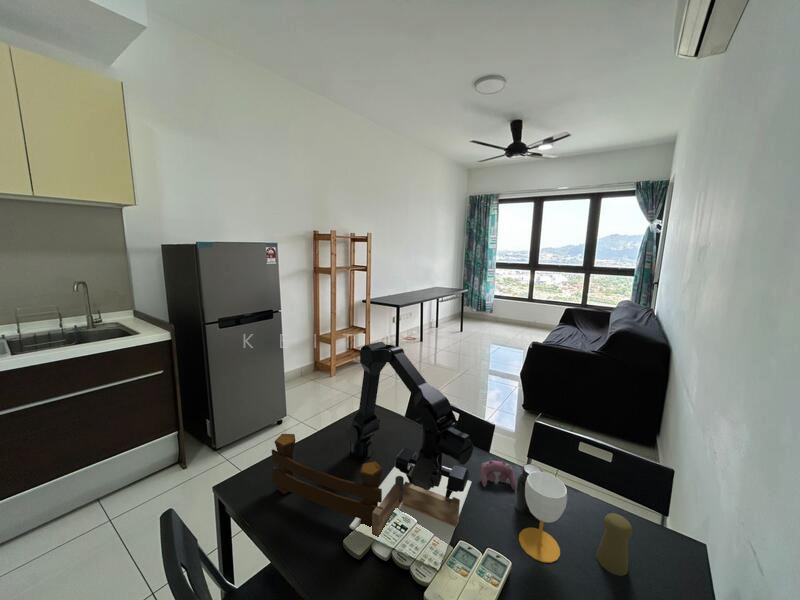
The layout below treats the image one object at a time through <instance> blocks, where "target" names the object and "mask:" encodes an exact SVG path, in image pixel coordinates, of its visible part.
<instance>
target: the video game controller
mask: <svg viewBox="0 0 800 600" xmlns="http://www.w3.org/2000/svg"><path fill="white" fill-rule="evenodd" d="M514 471H515V470H514V469H513V466H511V465H510V464H508V463H506V462H504V461H501V460H488V461H483V462H482V463H481V465H480V479H481V484H482V487H483V488H485V487H486V486H487V484H488V483H487V482H488V480H489V481H490V482H495V481H496V479H497V478H498V480H499V482H501V483H506V482H507V480H508V481H509V484H510V486H511V490H513V491H514V490H516V488H517V487H516V485H517V483H516V476H515V472H514ZM495 473H499V474H498V477H497V476H496V474H495Z"/></svg>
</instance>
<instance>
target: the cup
mask: <svg viewBox="0 0 800 600" xmlns="http://www.w3.org/2000/svg"><path fill="white" fill-rule="evenodd" d="M567 491H568V490H567V487H566V485H565V484H564V482H563V481H562V480H560V479H559V478H558V477H557V476H554V475H553V474H551V473H549V472H544V471H543V472H533V473H530V474H529V475H528V477H527V480H526V484H525V497H526V502H527V505H528V507H529V510H530V512H531V513H532V514H533V515H534V516H535V517H536V518H537V519H536V520H538V521H539V524H538V525H539V527H538V528H536V527H527V528H524V529H523V528H522V530H521V531H520V532H519V534H518V541H519V545H520V546H521V547H520V548H521V549H522V550H523V551H524V552H525V553H526V555H528V556H530V557H531V558H532V559H534V560H536V561H539V562H541V563H545V564H546V563H547V564H548V563H549V564H552V563H555V562H557V561H558V559H559V558H560V556H561V547H560V546H559V544H558V542H557V540H556V539H554V537H553V536H552V535H550V534H549V533H547V532H546V531H544V524H545V523H547V524H548V523H554V522H556V521H558V520H559V519H560V517H561V516H562V515H563V513H564V512H565V510H566V507H567V503H568V493H567Z"/></svg>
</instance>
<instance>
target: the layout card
mask: <svg viewBox="0 0 800 600" xmlns="http://www.w3.org/2000/svg"><path fill="white" fill-rule="evenodd" d="M397 476H402V477H403V478H404V483H405V482H408V483H409V480H408V478H407V476H406V474H405V473H403V472H400V470H399V469H397V468H395V466H394V467H393V468H392V469H391V471H390V472H389V473H388V474H387V476H386V477H385V478H384V480H383V481H382V482H381V484H379V487H378V488H380V489H382V501H383V500H384V498H385V497H386V495H387V494H388V493H389V491H390V490H391V488H392V487H393V485H394V484H395V479H396V477H397ZM403 485H404V484H403ZM447 485H448V477H445V476H442V478H441V481H440V484H439V486H438V487H436V486H434V488H432V487H431V489H430V490H429V491H432V492H435V493H437V494H440V495H442V496H446V491H447V489H446V487H447ZM471 487H472V481H471V480H469V479H468V481H467V483H466V486H465V489H464V491H462V492H459V491H458V492H454V491H453V492H452V493H451V495H450V497H449V498H450V499H452V498H453V497H455V498H457V499H460V506H459V517H460V515H461V513H462V510H463V507H464V505H465V501H467V500H466V499H467V496H468V493H469V491H470V489H471ZM382 501H381V503H382ZM381 503H380V502H378V507H379V505H380V504H381ZM396 508H398V509H399V510H400V511H402V512H404V513H407V514H409V515H410V516H412V517H413V518H415V519H416V520H417V522H418V523H419V524H420V525H421V526H422V527H424V528H426V529H428V530H429V531H430V532H432V533H433V534H434V535H435V536H436V537H438V538H439V539H440V540H442V541H444V542H445V543H447V544H448V545H449V546H450V543H451V540H452V538H453V535H454V533H455V529H456V527H458V523H459V519H458V523H457V525H453V524H451V523H449V522H447V521H445V520H443V519H440V518H438V517H435V516H433V515H431V514H428V513H426V512H423V511H421V510H419V509H416V508H414V507H411V506H409V505H407V504H404V503H403V501H402V502H401V503H399V504H398V506H397V507H396ZM360 522H361V519H360V518H356V517H354V519H353V521H352V522H351V523H350V524H349V529H351V530H353V531H355V530H354V529H356V528H357V527H359V526H360Z"/></svg>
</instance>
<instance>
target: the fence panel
mask: <svg viewBox="0 0 800 600" xmlns="http://www.w3.org/2000/svg"><path fill="white" fill-rule="evenodd" d="M403 503H404V504H407V505H409V506H411V507H414V508H416V509H419V510H421V511H423V512H426V513H428V514H431V515H433V516H435V517H438V518H440V519H443V520H445V521H447V522H449V523H451V524H453V525H457V526H458V524H457V523H459V521H458V520H459V519H460V516H459V506H460V499H457V498H455V497H453V498H452V499H450V498H448V497H445V496H442V495H440V494H437V493H435V492H432V491H429V490H424V489H423V488H420V487H418V486H414V485H413V484H411V483H408V482H405V483H404V485H403Z"/></svg>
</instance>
